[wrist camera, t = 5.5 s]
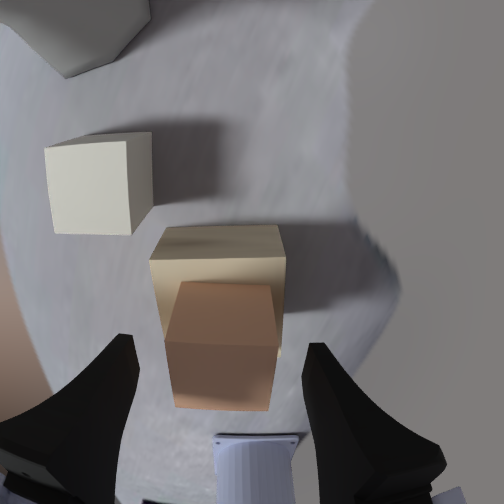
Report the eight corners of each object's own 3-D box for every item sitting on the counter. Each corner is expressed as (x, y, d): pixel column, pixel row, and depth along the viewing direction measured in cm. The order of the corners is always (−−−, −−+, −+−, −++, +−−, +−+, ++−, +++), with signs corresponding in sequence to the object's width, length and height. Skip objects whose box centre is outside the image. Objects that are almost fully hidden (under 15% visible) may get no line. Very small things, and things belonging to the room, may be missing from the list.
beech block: (274, 312, 20) (280, 357, 17) (179, 314, 20) (169, 357, 16) (276, 223, 17) (286, 256, 14) (167, 226, 17) (149, 259, 14)
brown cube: (262, 349, 16) (268, 411, 13) (185, 346, 16) (175, 407, 12) (270, 285, 14) (279, 345, 11) (181, 281, 14) (164, 340, 11)
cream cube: (154, 205, 17) (131, 235, 13) (88, 205, 16) (55, 233, 13) (152, 131, 15) (126, 140, 11) (83, 135, 15) (44, 148, 11)
